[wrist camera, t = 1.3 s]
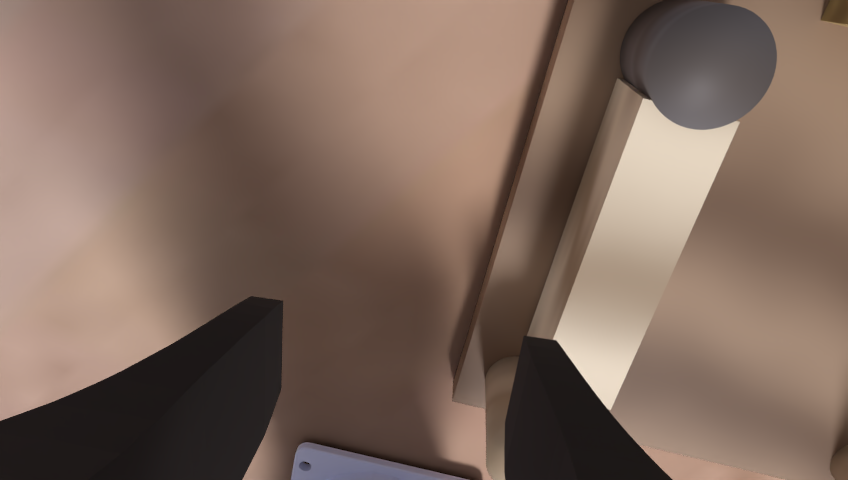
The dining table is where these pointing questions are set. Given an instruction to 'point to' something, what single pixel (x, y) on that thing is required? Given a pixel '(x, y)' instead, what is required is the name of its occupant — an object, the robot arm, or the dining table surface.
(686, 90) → the leg bar
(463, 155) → the dining table surface
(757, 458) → the stool seat
